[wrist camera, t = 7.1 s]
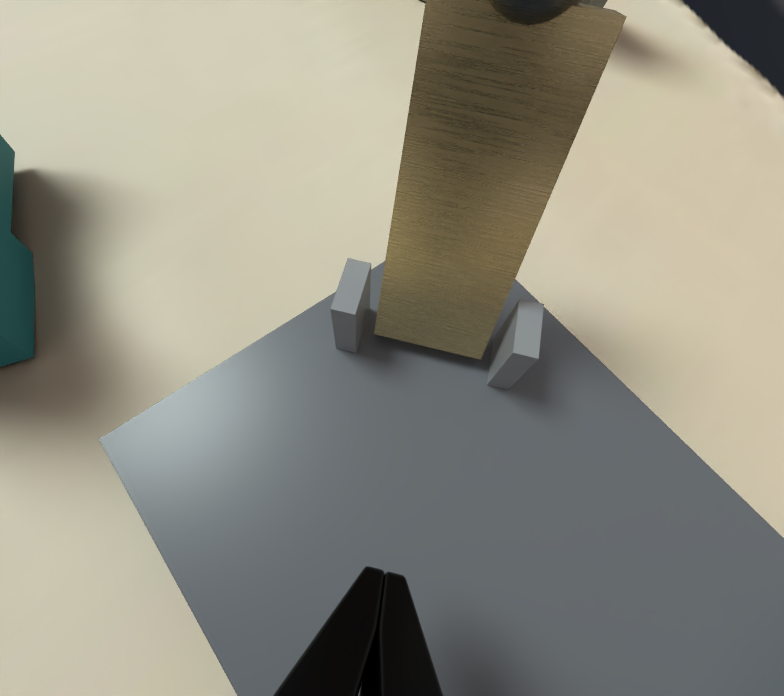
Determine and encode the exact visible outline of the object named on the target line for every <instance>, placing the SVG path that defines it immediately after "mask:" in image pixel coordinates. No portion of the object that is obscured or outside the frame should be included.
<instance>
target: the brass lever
mask: <svg viewBox="0 0 784 696" xmlns="http://www.w3.org/2000/svg"><path fill="white" fill-rule="evenodd" d="M581 1H582V0H426V4H425V11H424V17H423V23H422V30H421V36H420V43H419V49H418V55H417V62H416V68H415V75H414V81H413V87H412V94H411V100H410V106H409V113H408V119H407V126H406V132H405V138H404V145H403V151H402V158H401V164H400V170H399V177H398V183H397V190H396V196H395V202H394V209H393V215H392V222H391V228H390V234H389V241H388V247H387V254H386V260H385V266H384V273H383V279H382V286H381V292H380V298H379V305H378V311H377V318H376V324H375V330H374V334H376V335H380V336H384V337H389V338H393V339H397V340H401V341H405V342H409V343H413V344H418V345H422V346H426V347H430V348H434V349H438V350H442V351H447V352H451V353H455V354H459V355H463V356H467V357H471V358H476V359H480V360H481V357H482V355H483V353H484V350H485V348H486V346H487V343H488V341H489V339H490V336H491V334H492V332H493V329H494V327H495V325H496V322H497V320H498V317H499V315H500V313H501V310H502V308H503V306H504V303H505V301H506V299H507V296H508V294H509V292H510V289H511V287H512V285H513V282H514V280H515V278H516V275H517V273H518V270H519V268H520V266H521V263H522V261H523V259H524V256H525V254H526V252H527V249H528V247H529V245H530V242H531V240H532V238H533V235H534V233H535V231H536V228H537V226H538V223H539V221H540V219H541V216H542V214H543V212H544V209H545V207H546V205H547V202H548V200H549V198H550V195H551V193H552V191H553V188H554V186H555V184H556V181H557V179H558V176H559V174H560V172H561V169H562V167H563V165H564V162H565V160H566V158H567V155H568V153H569V151H570V148H571V146H572V144H573V141H574V139H575V136H576V134H577V132H578V129H579V127H580V125H581V122H582V120H583V118H584V115H585V113H586V111H587V108H588V106H589V104H590V101H591V99H592V97H593V94H594V92H595V89H596V87H597V85H598V82H599V80H600V78H601V75H602V73H603V71H604V68H605V66H606V64H607V61H608V59H609V57H610V54H611V52H612V50H613V47H614V45H615V42H616V40H617V38H618V35H619V33H620V31H621V28H622V26H623V24H624V21H625V19H626V16H624V15H623V14H621V13H619V12H617V11H615V10H611V9H606V8H601V7H597V6H592V5H587V4H582V3H580V2H581Z"/></svg>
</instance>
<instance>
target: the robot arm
mask: <svg viewBox="0 0 784 696" xmlns="http://www.w3.org/2000/svg"><path fill="white" fill-rule="evenodd" d="M359 691H360V693H359ZM358 694H359V696H443V693H442V690H441V687H440V684H439V681H438V678H437V674H436V671H435V668H434V665H433V662H432V659H431V656H430V652H429V649H428V646H427V643H426V640H425V637H424V634H423V630H422V627H421V624H420V621H419V618H418V615H417V611H416V608H415V605H414V602H413V599H412V596H411V593H410V589H409V586H408V583H407V580H406V578H405V577H404V576H403V575H401V574H397V573H393V572H389V571H388V572H386V573H385V575H384V571H383V570H382V569H378V568H374V567H370V566H366V567H365V568H364V569H363V570H362V571H361V573H360V574H359V576H358V577H357V578H356V580H355V581H354V583H353V584H352V585H351V587H350V588H349V590H348V591H347V592H346V594H345V595H344V597H343V598H342V599H341V601H340V602H339V604H338V605H337V606H336V608H335V609H334V611H333V612H332V613H331V615H330V616H329V618H328V619H327V620H326V622H325V623H324V625H323V626H322V627H321V629H320V630H319V632H318V633H317V634H316V636H315V637H314V639H313V640H312V641H311V643H310V644H309V646H308V647H307V648H306V650H305V651H304V653H303V654H302V655H301V657H300V658H299V660H298V661H297V662H296V664H295V665H294V667H293V668H292V669H291V671H290V672H289V674H288V675H287V676H286V678H285V679H284V681H283V682H282V683H281V685H280V686H279V688H278V689H277V690H276V692H275V693H274V695H273V696H358Z"/></svg>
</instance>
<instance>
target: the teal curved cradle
mask: <svg viewBox="0 0 784 696" xmlns="http://www.w3.org/2000/svg"><path fill="white" fill-rule="evenodd" d="M14 157H15V152H14V150H13V149H12V148H11V147H10V146H9V144H8V143H7V142H6V141H5V140H4V139H3V137H2V136H1V135H0V367H1V366H4V365H8V364H12V363H15V362H19V361H22V360H26V359H29V358H33V357H34V304H35V284H34V268H33V253H32V252H30V251H29V250H28V249H27V248H26V247H25V246H24V245H23V244H22V243H21V242H20V241H19V240H18V239H17V238H16V237H15V236H14V235H13V234H12V233H11V215H12V196H13V177H14Z"/></svg>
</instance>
